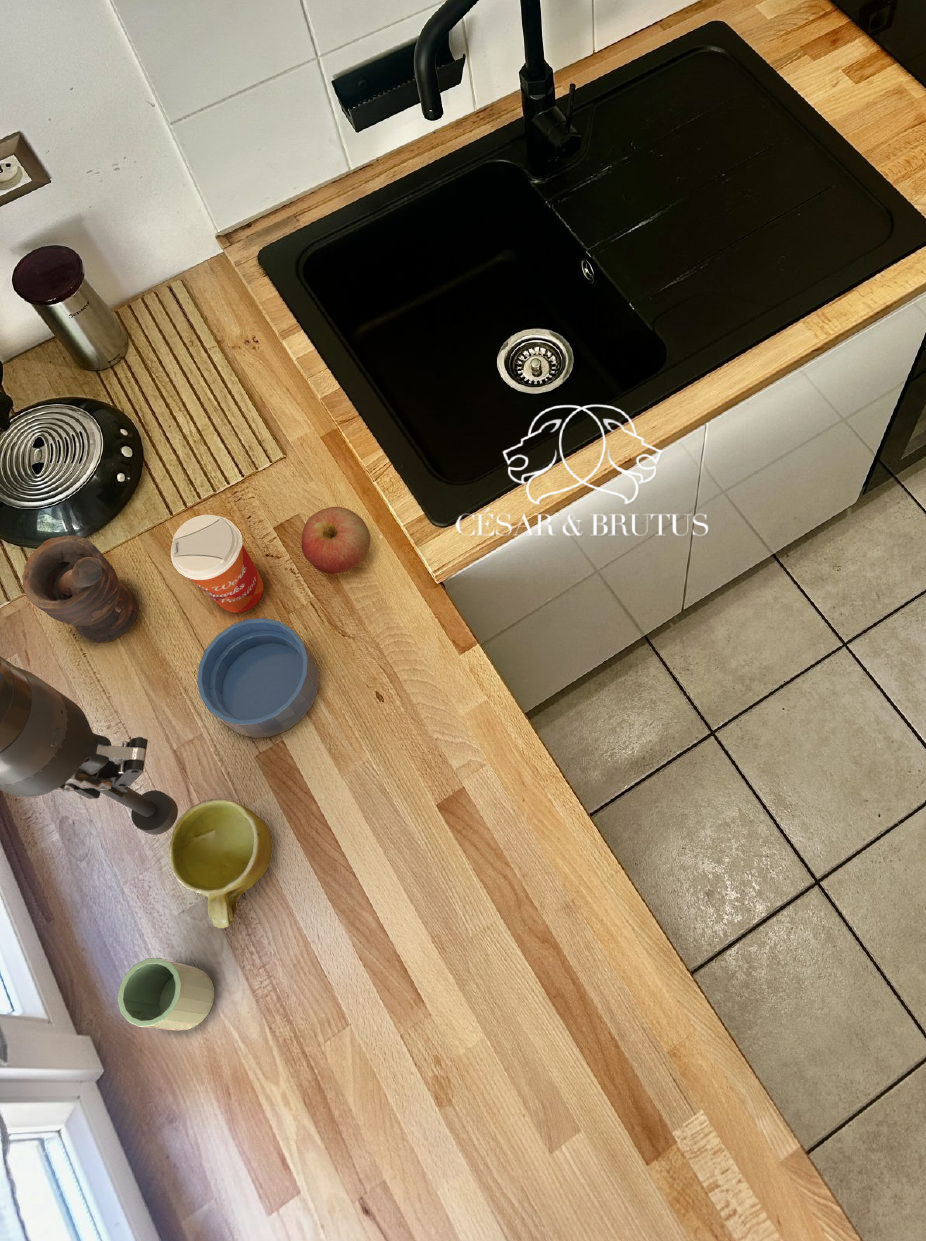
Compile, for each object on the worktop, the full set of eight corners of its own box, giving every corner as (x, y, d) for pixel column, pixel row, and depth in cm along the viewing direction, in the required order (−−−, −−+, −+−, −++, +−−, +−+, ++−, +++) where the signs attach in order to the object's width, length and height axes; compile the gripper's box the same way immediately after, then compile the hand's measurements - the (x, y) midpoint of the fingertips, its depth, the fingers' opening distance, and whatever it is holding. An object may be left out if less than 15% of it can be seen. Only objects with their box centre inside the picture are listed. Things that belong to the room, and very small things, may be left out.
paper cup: (209, 627, 135) (167, 581, 122) (206, 568, 138) (165, 518, 126) (276, 614, 135) (241, 566, 123) (271, 555, 139) (236, 504, 126)
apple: (373, 583, 137) (360, 556, 130) (306, 585, 137) (289, 558, 130) (378, 522, 140) (365, 492, 133) (313, 524, 140) (296, 494, 133)
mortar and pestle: (177, 581, 138) (111, 508, 120) (162, 650, 133) (91, 585, 116) (82, 579, 138) (3, 506, 120) (64, 648, 134) (-21, 583, 116)
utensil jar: (153, 1032, 115) (114, 1028, 106) (160, 969, 117) (122, 960, 108) (211, 1028, 114) (177, 1024, 106) (217, 965, 117) (183, 956, 108)
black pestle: (136, 836, 105) (57, 796, 90) (142, 795, 106) (65, 750, 92) (175, 834, 105) (103, 794, 90) (180, 794, 106) (110, 748, 92)
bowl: (210, 742, 128) (192, 727, 123) (219, 640, 134) (203, 622, 129) (317, 735, 128) (304, 720, 123) (322, 633, 134) (309, 614, 129)
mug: (179, 796, 123) (174, 796, 114) (277, 801, 126) (280, 801, 117) (161, 918, 120) (155, 928, 111) (263, 920, 123) (264, 931, 113)
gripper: (116, 673, 82) (196, 737, 97) (-74, 681, 82) (35, 744, 97) (99, 779, 78) (185, 828, 94) (-99, 788, 78) (18, 836, 94)
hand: (108, 785), depth 95 cm, fingers closed on black pestle, 1 cm apart
